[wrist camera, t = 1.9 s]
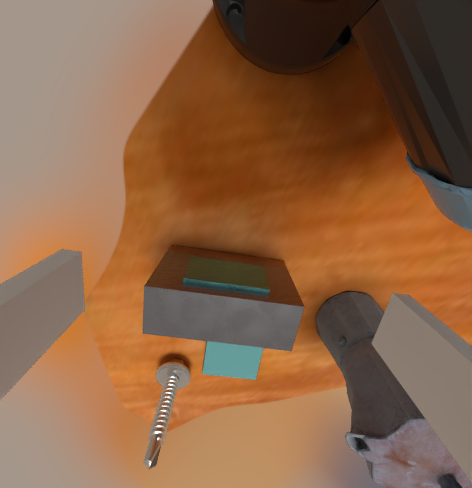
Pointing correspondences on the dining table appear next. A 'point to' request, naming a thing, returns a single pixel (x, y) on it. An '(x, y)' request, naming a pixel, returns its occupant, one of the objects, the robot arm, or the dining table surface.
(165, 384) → the screw
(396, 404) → the moka pot
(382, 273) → the dining table surface
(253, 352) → the teal pad
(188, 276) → the grey unit
